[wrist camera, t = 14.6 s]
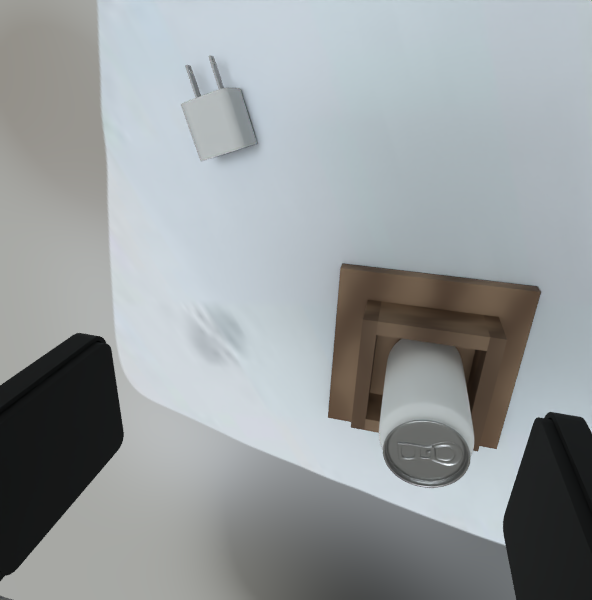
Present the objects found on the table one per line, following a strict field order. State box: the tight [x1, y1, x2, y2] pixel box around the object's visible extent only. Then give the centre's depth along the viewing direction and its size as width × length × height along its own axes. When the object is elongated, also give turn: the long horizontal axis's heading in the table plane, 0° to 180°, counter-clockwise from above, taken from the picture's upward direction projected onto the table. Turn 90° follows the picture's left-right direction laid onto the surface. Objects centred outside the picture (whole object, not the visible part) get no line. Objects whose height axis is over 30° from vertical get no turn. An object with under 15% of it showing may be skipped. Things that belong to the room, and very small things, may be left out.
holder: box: [328, 264, 541, 451], centre depth 40 cm, size 16×16×5 cm
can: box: [379, 339, 474, 488], centre depth 36 cm, size 6×6×12 cm
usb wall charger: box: [181, 56, 257, 161], centre depth 36 cm, size 4×7×4 cm, turn 17°
